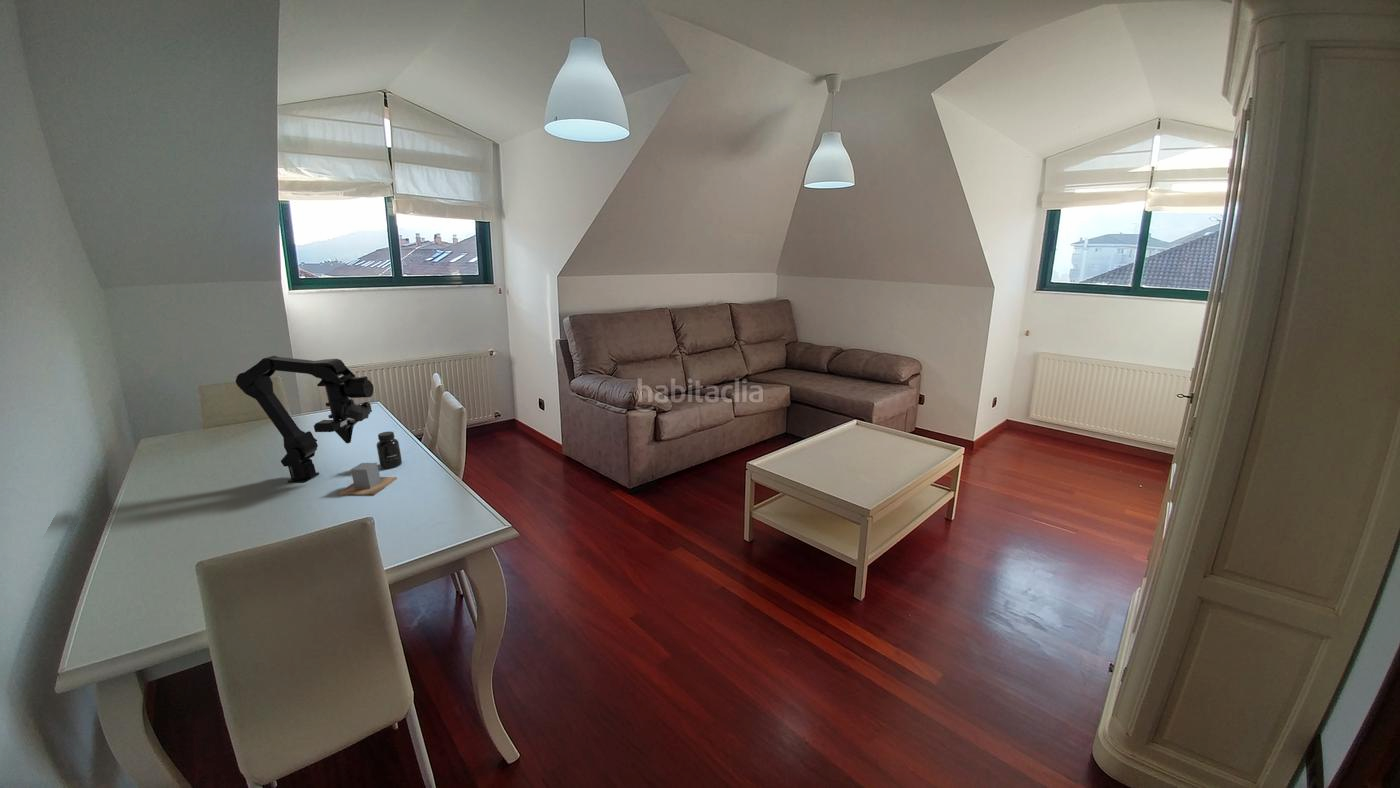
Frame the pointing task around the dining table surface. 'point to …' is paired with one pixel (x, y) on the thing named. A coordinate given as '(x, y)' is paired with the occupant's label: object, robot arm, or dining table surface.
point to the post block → (374, 490)
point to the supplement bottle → (388, 450)
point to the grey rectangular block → (365, 475)
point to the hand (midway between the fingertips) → (348, 443)
